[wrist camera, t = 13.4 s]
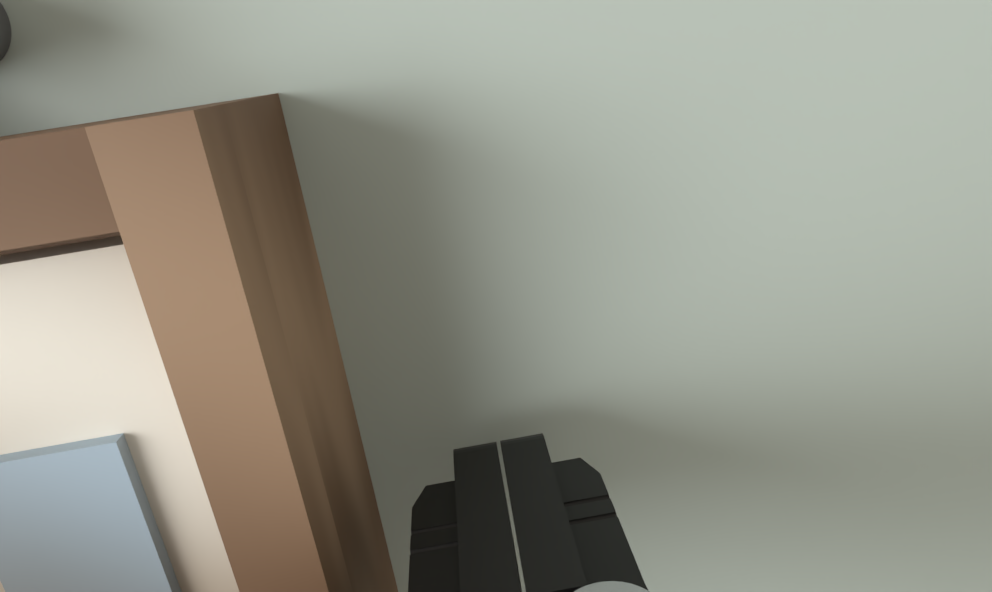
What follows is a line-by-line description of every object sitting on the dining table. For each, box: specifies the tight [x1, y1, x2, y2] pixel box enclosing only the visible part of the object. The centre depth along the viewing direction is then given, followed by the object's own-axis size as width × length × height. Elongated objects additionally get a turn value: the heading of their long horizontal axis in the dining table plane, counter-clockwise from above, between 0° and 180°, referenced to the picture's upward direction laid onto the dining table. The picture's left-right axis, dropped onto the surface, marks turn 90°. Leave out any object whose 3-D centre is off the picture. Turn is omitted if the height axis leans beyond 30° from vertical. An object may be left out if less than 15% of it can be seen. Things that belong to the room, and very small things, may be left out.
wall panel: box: [0, 0, 992, 592], centre depth 12 cm, size 24×20×4 cm
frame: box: [0, 93, 398, 592], centre depth 10 cm, size 13×6×4 cm, turn 8°
